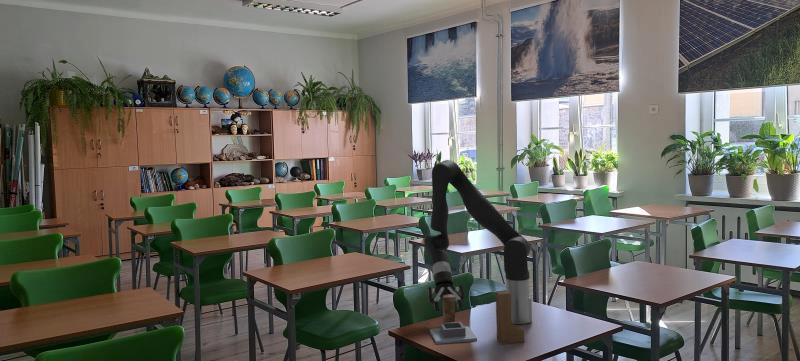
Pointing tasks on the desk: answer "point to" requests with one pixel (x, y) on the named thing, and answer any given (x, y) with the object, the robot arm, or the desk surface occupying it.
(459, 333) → the socket board
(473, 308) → the desk surface
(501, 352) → the desk surface
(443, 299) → the walnut peg
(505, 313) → the wooden block
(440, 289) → the robot arm
